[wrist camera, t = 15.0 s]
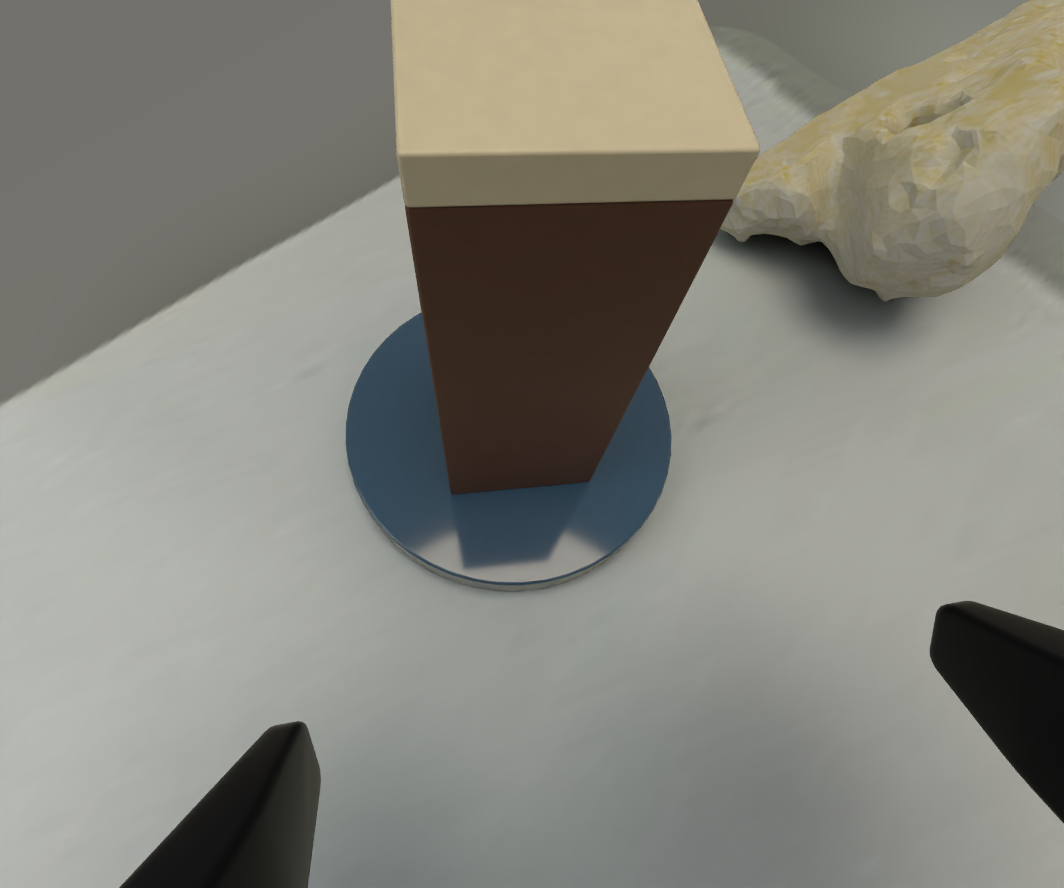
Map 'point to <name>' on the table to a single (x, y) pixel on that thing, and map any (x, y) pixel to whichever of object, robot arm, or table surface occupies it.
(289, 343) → the table surface
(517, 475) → the tan and brown block
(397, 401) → the plate
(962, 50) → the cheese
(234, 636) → the table surface
